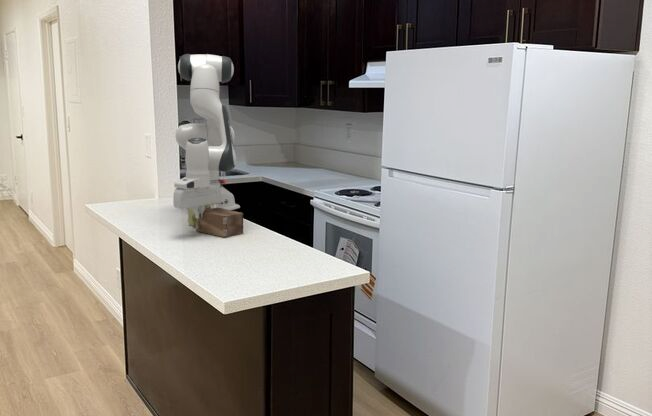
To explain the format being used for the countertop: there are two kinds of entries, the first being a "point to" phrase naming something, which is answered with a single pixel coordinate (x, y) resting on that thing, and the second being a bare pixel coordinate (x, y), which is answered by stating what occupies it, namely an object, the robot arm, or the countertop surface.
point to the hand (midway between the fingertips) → (198, 218)
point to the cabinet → (230, 220)
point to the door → (212, 224)
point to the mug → (192, 215)
